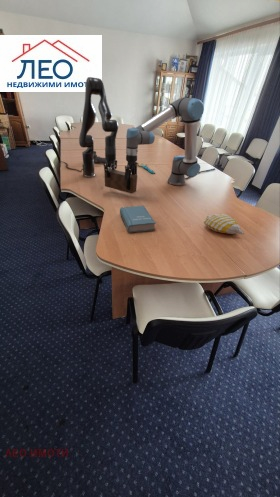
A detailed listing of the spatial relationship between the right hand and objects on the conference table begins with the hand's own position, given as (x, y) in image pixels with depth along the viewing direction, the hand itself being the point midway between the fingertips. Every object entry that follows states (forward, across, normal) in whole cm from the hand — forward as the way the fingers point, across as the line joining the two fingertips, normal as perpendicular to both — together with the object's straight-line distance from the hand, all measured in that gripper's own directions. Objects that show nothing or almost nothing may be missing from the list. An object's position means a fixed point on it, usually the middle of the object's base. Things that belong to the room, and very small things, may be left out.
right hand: (130, 187), depth 161 cm
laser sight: (+8, +57, +74) cm, 94 cm away
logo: (+8, +74, +23) cm, 78 cm away
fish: (+8, -8, -70) cm, 71 cm away
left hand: (-5, 0, +17) cm, 18 cm away
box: (+3, 0, +9) cm, 9 cm away
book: (+8, -29, -21) cm, 37 cm away
